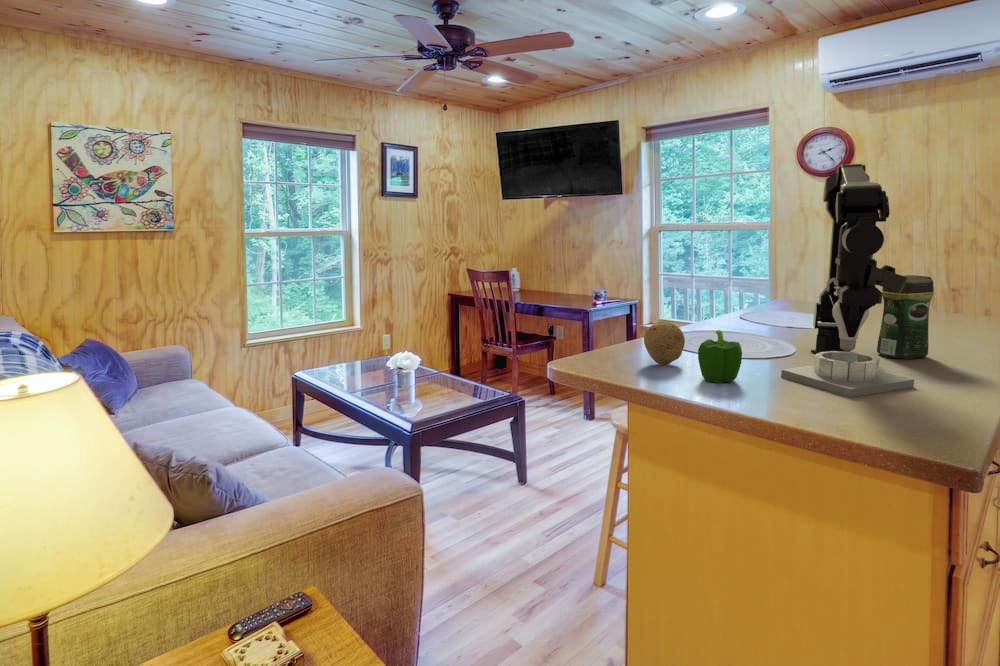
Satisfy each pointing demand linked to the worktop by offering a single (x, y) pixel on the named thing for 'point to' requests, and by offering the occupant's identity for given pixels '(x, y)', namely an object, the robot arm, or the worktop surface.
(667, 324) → the natural sponge
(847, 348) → the lightbulb
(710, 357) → the bell pepper
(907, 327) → the coffee jar
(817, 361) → the socket collar
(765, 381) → the worktop surface
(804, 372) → the socket plate
